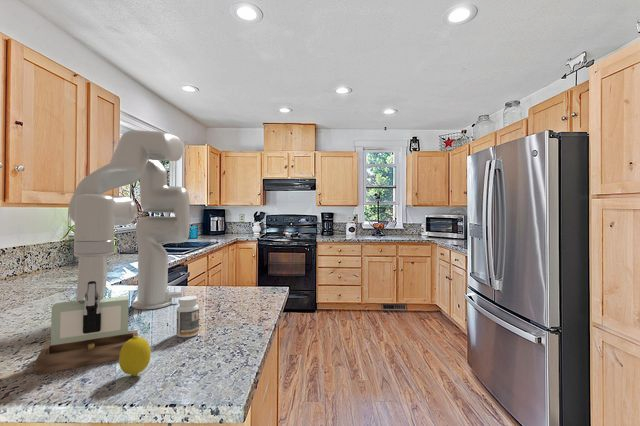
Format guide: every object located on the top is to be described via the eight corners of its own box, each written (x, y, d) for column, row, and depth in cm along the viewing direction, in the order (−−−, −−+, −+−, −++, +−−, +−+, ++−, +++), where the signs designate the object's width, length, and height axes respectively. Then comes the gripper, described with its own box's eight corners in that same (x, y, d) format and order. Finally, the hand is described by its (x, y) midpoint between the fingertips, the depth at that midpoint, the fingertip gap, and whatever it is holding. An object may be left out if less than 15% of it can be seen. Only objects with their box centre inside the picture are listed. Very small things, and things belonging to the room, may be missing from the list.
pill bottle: (203, 332, 90) (203, 296, 90) (188, 339, 84) (189, 301, 85) (186, 329, 92) (187, 294, 92) (171, 336, 86) (171, 299, 86)
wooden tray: (136, 341, 82) (137, 325, 83) (138, 355, 74) (138, 338, 74) (45, 356, 73) (45, 339, 73) (35, 374, 65) (36, 354, 65)
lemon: (127, 369, 68) (128, 331, 68) (154, 369, 68) (155, 331, 68) (112, 383, 62) (113, 341, 62) (142, 382, 63) (143, 341, 63)
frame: (127, 328, 79) (128, 295, 79) (127, 333, 76) (128, 299, 76) (54, 339, 72) (55, 302, 72) (50, 345, 68) (51, 307, 68)
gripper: (78, 246, 79) (76, 321, 79) (68, 252, 65) (66, 344, 65) (114, 245, 83) (113, 316, 83) (113, 251, 69) (111, 338, 69)
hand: (92, 328), depth 74 cm, fingers closed on frame, 4 cm apart
